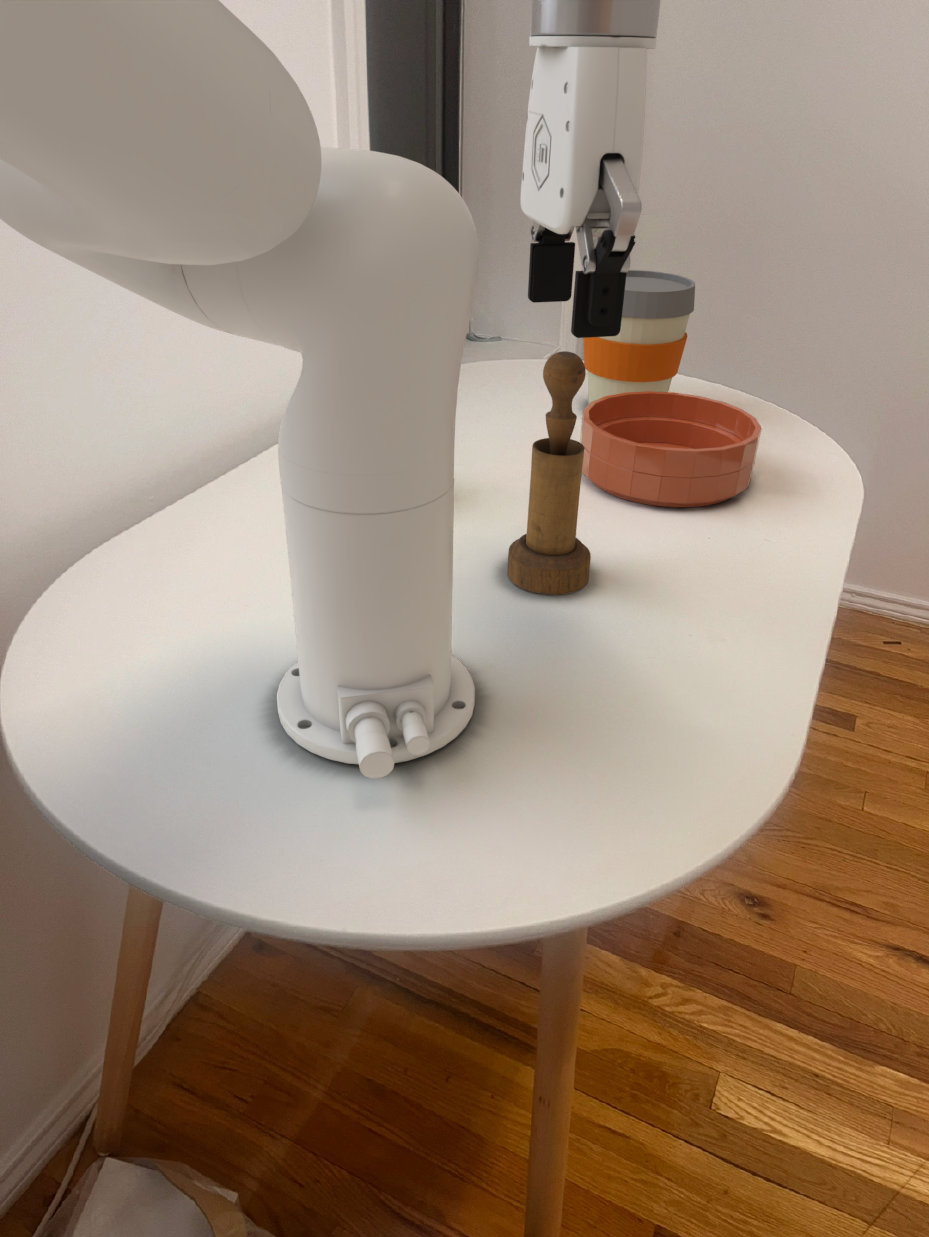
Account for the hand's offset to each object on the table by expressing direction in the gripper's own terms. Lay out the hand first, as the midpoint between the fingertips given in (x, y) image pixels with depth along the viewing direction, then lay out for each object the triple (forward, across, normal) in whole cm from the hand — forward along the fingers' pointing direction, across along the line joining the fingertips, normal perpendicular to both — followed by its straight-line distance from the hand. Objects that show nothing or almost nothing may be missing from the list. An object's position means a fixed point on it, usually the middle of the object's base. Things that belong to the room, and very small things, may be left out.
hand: (570, 317), depth 61 cm
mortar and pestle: (+21, 0, 0) cm, 21 cm away
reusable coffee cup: (+21, -38, +22) cm, 48 cm away
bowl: (+21, -18, +18) cm, 32 cm away
